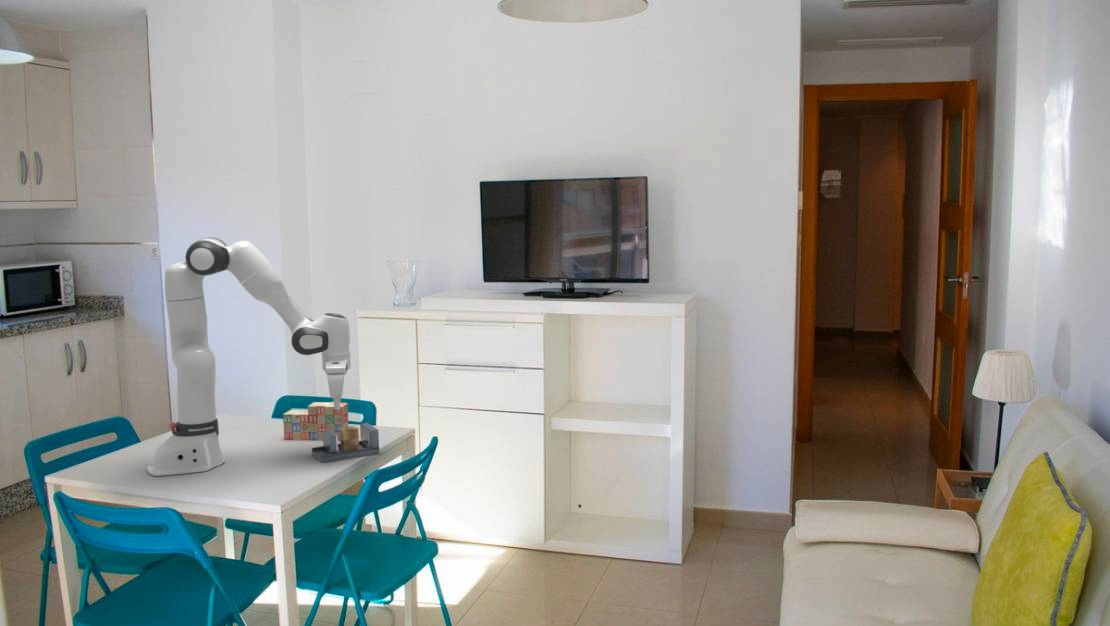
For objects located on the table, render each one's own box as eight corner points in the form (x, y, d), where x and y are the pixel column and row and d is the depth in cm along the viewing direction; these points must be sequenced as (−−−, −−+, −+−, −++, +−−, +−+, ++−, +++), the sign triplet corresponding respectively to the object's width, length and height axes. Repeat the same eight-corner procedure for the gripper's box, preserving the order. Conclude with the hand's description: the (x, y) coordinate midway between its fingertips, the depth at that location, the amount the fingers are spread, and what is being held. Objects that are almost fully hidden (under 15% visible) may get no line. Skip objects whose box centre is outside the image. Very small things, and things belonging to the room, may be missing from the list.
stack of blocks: (283, 440, 316) (281, 405, 314) (290, 435, 322) (288, 401, 320) (343, 441, 313) (342, 406, 312) (349, 436, 320) (347, 402, 318)
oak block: (344, 451, 294) (343, 430, 293) (340, 448, 297) (339, 427, 297) (359, 449, 296) (358, 428, 296) (355, 446, 300) (354, 425, 299)
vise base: (321, 462, 287) (320, 438, 286) (311, 454, 296) (310, 430, 295) (379, 453, 296) (378, 429, 295) (368, 446, 306) (367, 422, 305)
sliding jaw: (330, 454, 290) (329, 436, 289) (323, 448, 297) (322, 430, 296) (338, 453, 291) (337, 435, 290) (331, 447, 298) (330, 429, 297)
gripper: (327, 358, 302) (328, 399, 303) (324, 369, 282) (326, 413, 283) (347, 358, 303) (348, 399, 304) (345, 368, 283) (346, 412, 285)
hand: (337, 405), depth 294 cm, fingers open, 8 cm apart
